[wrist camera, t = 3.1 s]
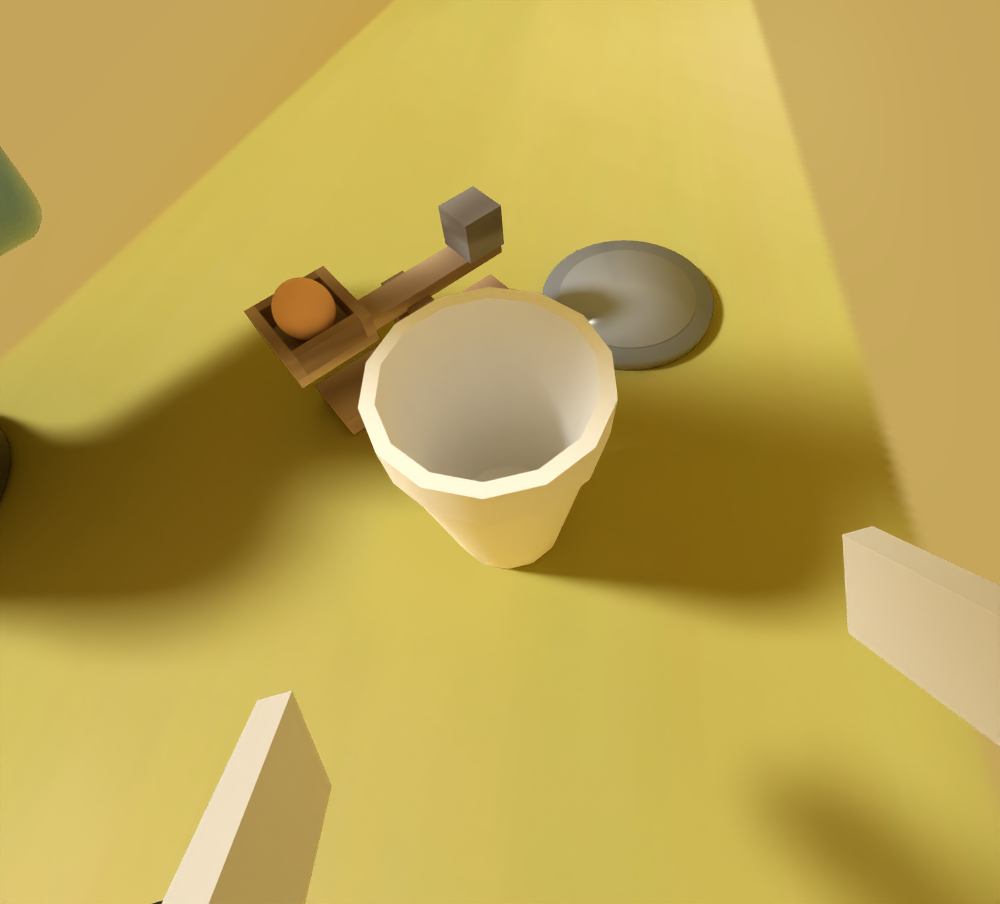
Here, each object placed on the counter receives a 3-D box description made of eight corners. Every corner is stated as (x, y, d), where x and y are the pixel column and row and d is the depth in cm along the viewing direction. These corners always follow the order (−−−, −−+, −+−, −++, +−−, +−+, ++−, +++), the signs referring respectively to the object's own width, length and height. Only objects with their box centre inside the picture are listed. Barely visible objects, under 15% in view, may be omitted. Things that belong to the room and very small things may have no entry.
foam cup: (521, 420, 33) (508, 255, 22) (623, 524, 29) (673, 387, 18) (398, 507, 31) (313, 372, 19) (492, 633, 27) (453, 555, 15)
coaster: (509, 303, 38) (508, 294, 37) (622, 228, 41) (623, 218, 41) (627, 400, 33) (629, 392, 32) (746, 306, 36) (751, 297, 36)
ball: (277, 329, 29) (249, 285, 26) (326, 300, 30) (304, 255, 27) (304, 362, 27) (277, 319, 25) (355, 331, 28) (334, 286, 25)
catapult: (307, 402, 35) (238, 302, 27) (488, 286, 39) (473, 170, 31) (344, 449, 33) (280, 356, 25) (531, 321, 37) (527, 206, 29)
